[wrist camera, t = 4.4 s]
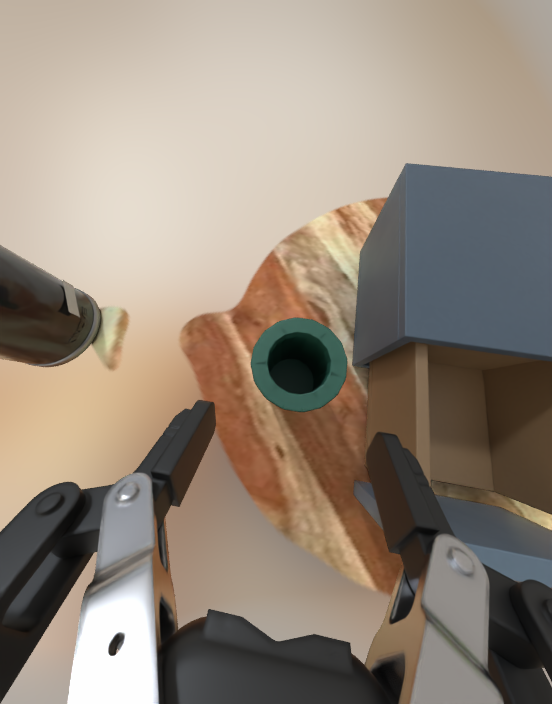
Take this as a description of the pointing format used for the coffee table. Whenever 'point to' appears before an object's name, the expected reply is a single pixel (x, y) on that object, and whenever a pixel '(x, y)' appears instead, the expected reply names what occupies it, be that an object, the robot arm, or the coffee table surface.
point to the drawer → (473, 443)
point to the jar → (299, 364)
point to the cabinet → (458, 265)
